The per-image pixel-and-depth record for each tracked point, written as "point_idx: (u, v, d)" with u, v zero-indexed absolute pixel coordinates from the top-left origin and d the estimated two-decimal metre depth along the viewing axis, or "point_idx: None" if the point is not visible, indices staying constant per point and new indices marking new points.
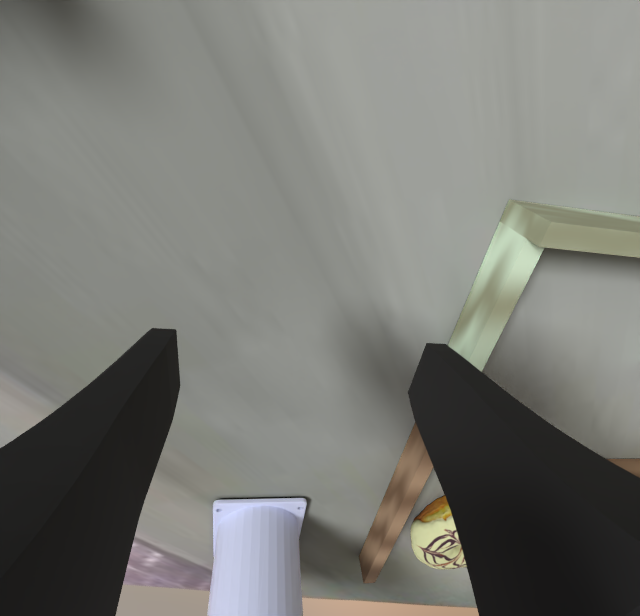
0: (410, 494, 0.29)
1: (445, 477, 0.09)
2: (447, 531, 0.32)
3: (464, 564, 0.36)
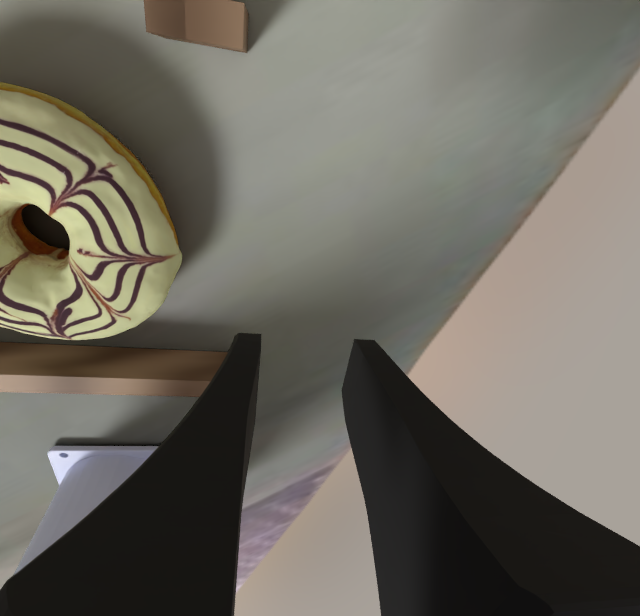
0: None
1: (364, 478, 0.09)
2: None
3: (102, 247, 0.14)
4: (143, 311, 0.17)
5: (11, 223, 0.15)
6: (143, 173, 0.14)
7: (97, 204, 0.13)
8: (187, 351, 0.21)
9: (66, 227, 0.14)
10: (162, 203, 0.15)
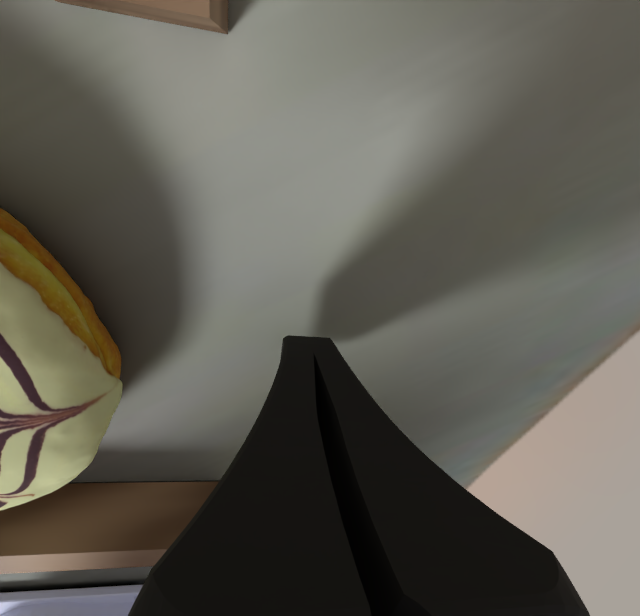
0: None
1: None
2: None
3: None
4: (55, 482, 0.10)
5: None
6: (30, 267, 0.07)
7: None
8: (149, 485, 0.14)
9: None
10: (75, 313, 0.08)
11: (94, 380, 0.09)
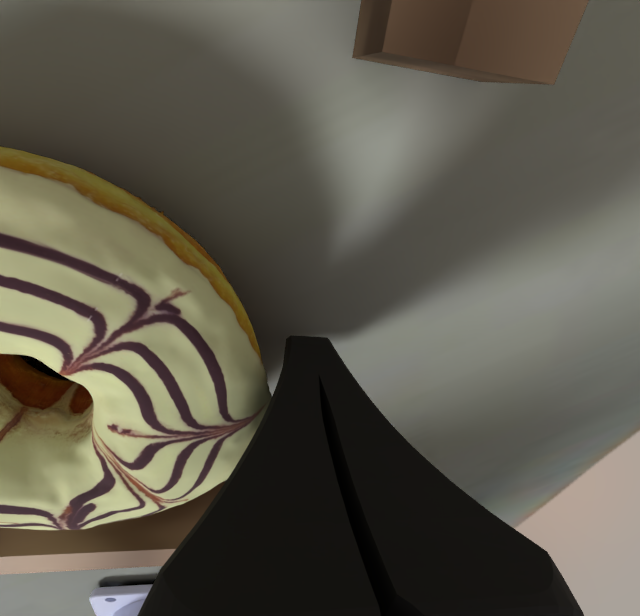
0: None
1: None
2: None
3: (155, 423, 0.08)
4: (209, 487, 0.10)
5: None
6: (226, 288, 0.08)
7: (150, 361, 0.07)
8: None
9: (89, 389, 0.08)
10: (252, 330, 0.09)
11: (262, 392, 0.09)
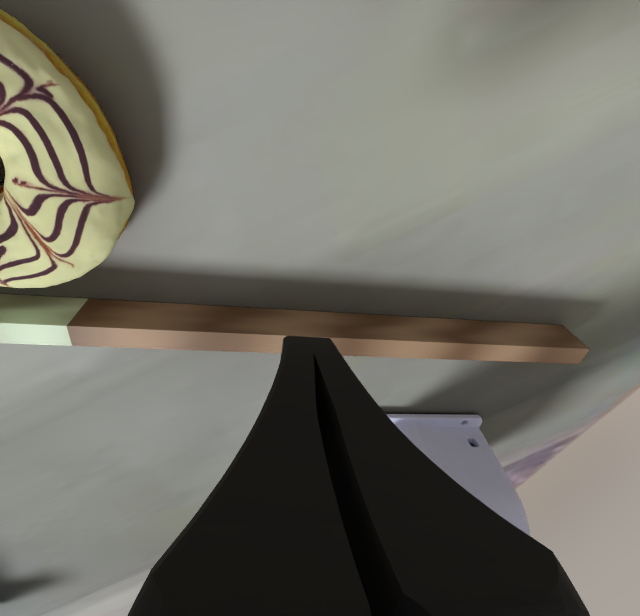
0: None
1: None
2: None
3: (40, 177, 0.13)
4: (88, 258, 0.15)
5: None
6: (91, 101, 0.13)
7: (34, 126, 0.12)
8: (526, 324, 0.24)
9: (0, 153, 0.13)
10: (112, 138, 0.14)
11: (120, 183, 0.14)
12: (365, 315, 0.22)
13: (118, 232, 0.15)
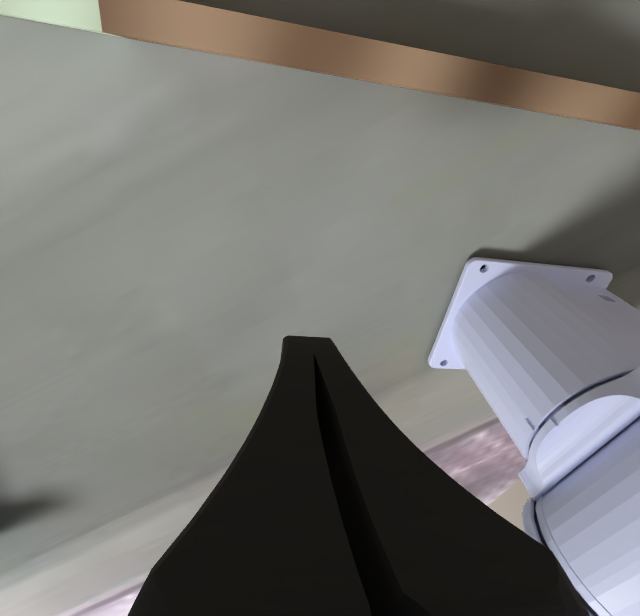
0: (470, 85, 0.14)
1: None
2: None
3: None
4: None
5: None
6: None
7: None
8: None
9: None
10: None
11: None
12: None
13: None
